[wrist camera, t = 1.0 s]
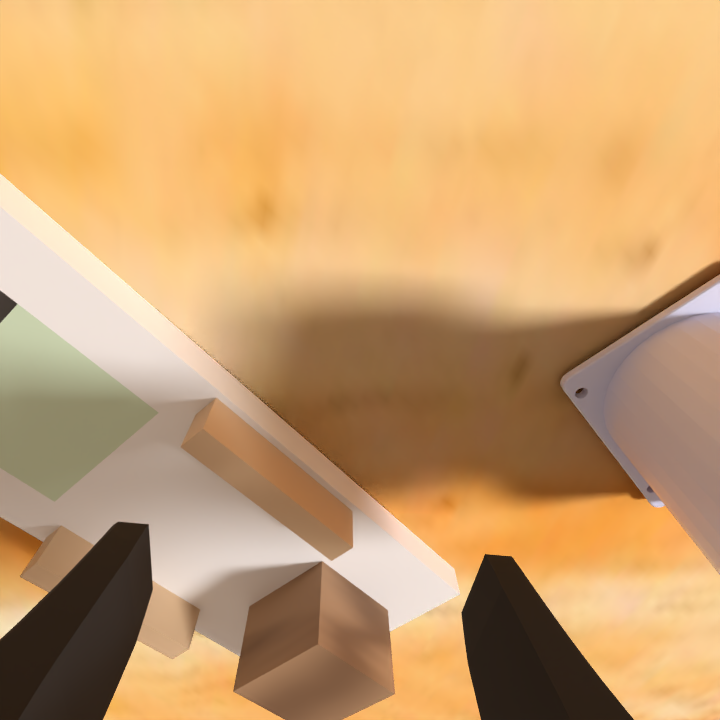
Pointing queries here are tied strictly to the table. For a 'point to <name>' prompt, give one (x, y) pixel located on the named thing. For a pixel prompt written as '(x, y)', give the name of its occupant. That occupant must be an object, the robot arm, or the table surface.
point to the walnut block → (316, 649)
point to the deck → (169, 455)
